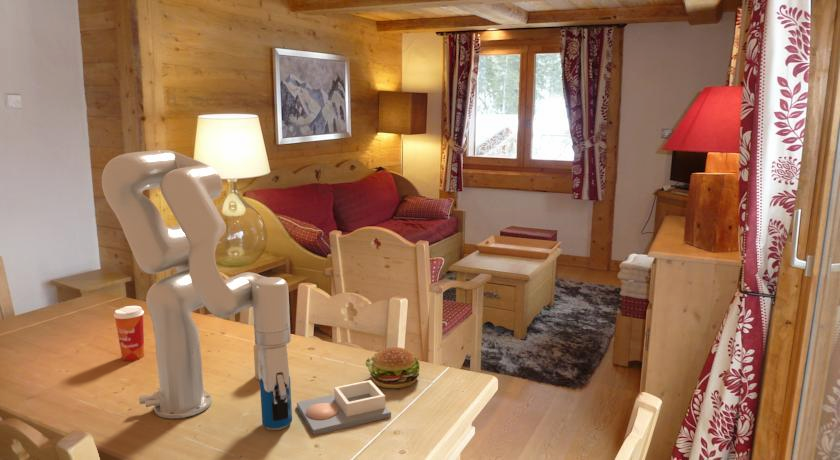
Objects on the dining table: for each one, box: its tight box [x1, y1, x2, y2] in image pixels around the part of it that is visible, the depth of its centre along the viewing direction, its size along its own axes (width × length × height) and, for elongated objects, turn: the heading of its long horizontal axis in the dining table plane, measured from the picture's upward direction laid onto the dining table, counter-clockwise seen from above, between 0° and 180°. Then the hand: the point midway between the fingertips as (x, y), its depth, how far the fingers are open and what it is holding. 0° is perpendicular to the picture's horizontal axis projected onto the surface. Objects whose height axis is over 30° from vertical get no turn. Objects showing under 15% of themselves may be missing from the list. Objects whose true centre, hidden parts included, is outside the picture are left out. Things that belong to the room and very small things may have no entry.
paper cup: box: [113, 305, 145, 362], centre depth 173 cm, size 8×8×14 cm
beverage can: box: [259, 375, 293, 431], centre depth 136 cm, size 6×6×12 cm
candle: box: [253, 343, 260, 381], centre depth 161 cm, size 6×6×10 cm
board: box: [296, 379, 392, 436], centre depth 143 cm, size 18×14×4 cm
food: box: [365, 346, 420, 389], centre depth 159 cm, size 14×14×8 cm
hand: (276, 411), depth 137 cm, fingers closed on beverage can, 6 cm apart
